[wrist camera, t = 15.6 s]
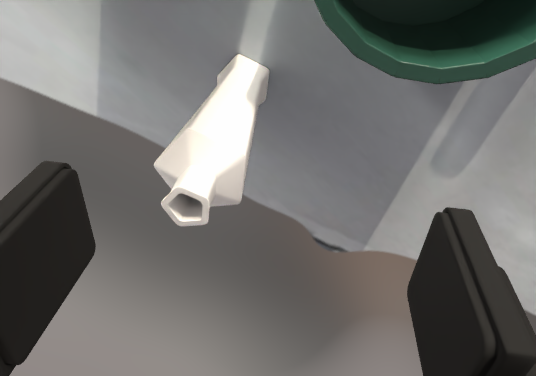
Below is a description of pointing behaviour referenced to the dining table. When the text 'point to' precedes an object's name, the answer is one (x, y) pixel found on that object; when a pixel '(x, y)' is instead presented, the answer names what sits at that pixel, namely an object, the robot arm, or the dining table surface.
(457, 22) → the tin
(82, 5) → the dining table surface
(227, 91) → the perfume bottle
